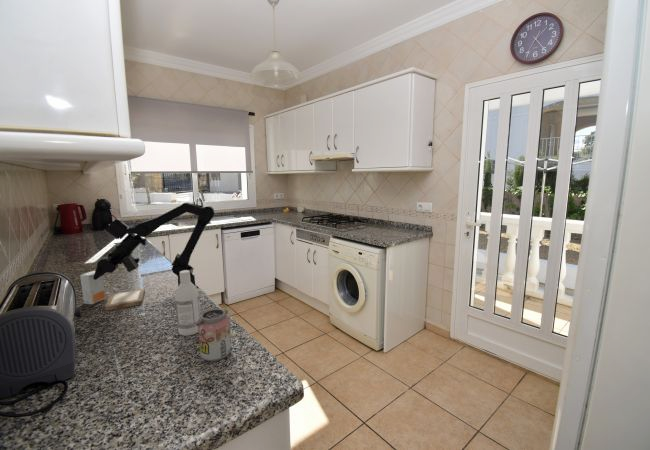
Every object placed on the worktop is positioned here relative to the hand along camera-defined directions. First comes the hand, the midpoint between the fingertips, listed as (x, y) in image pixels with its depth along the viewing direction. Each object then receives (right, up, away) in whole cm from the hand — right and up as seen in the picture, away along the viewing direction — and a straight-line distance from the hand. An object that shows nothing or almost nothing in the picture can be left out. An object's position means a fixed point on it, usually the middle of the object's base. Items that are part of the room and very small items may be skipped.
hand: (98, 275), depth 121 cm
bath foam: (+48, -14, -24) cm, 55 cm away
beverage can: (+60, -16, -36) cm, 72 cm away
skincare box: (-2, -11, +1) cm, 11 cm away
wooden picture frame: (+11, -10, +1) cm, 15 cm away
